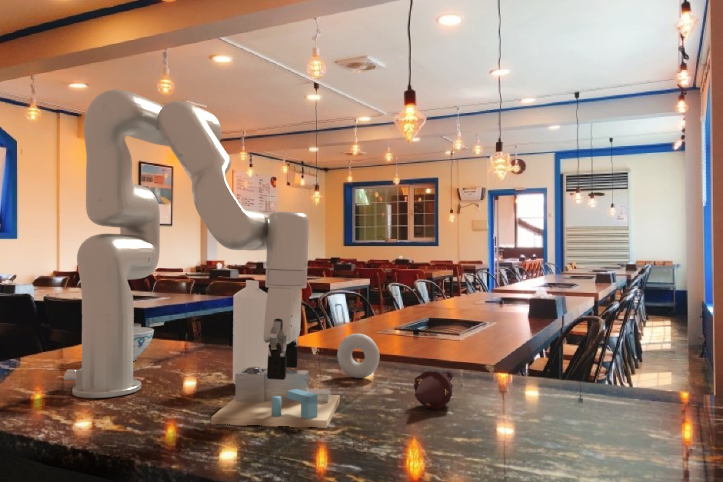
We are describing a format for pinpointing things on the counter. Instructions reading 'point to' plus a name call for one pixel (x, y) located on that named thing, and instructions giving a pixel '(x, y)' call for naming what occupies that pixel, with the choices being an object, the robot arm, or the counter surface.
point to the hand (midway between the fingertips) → (282, 372)
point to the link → (273, 386)
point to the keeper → (304, 397)
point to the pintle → (253, 370)
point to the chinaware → (141, 340)
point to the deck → (262, 416)
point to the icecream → (433, 389)
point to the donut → (369, 351)
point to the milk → (249, 328)
